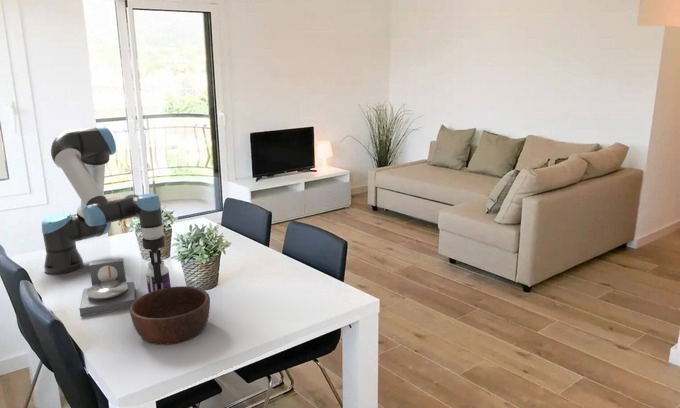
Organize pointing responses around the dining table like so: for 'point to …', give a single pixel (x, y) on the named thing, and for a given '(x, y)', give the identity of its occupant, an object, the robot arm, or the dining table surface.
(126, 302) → the dial scale
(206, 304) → the wooden bowl
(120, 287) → the scale pan
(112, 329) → the dining table surface
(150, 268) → the pill bottle
